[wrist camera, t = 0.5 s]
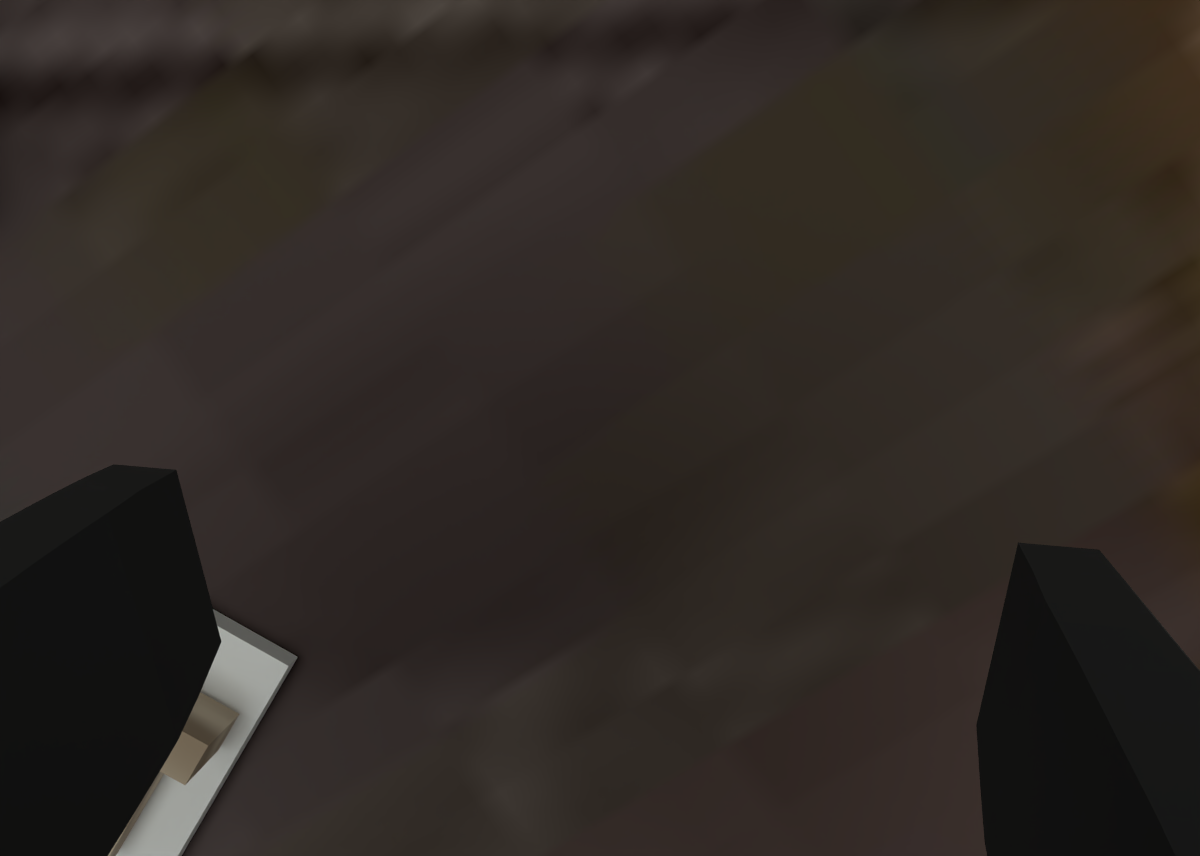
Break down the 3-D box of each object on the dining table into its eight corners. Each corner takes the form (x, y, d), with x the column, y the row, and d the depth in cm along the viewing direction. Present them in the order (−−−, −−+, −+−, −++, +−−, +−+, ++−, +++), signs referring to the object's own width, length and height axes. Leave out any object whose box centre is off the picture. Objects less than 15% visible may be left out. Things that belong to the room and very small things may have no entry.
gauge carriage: (147, 870, 32) (107, 917, 30) (-133, 716, 32) (-203, 749, 29) (239, 714, 33) (208, 745, 30) (-40, 558, 32) (-100, 574, 29)
